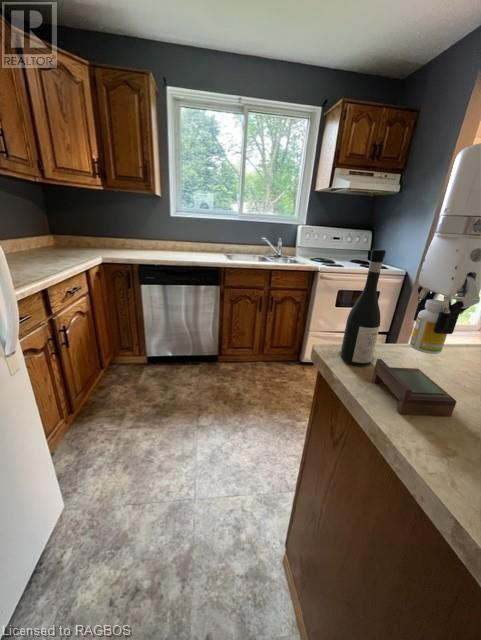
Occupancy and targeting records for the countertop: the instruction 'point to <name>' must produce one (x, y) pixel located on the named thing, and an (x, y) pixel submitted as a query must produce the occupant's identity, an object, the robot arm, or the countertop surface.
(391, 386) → the wooden jewelry box
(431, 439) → the countertop surface
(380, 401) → the countertop surface
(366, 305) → the wine bottle
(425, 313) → the supplement bottle
